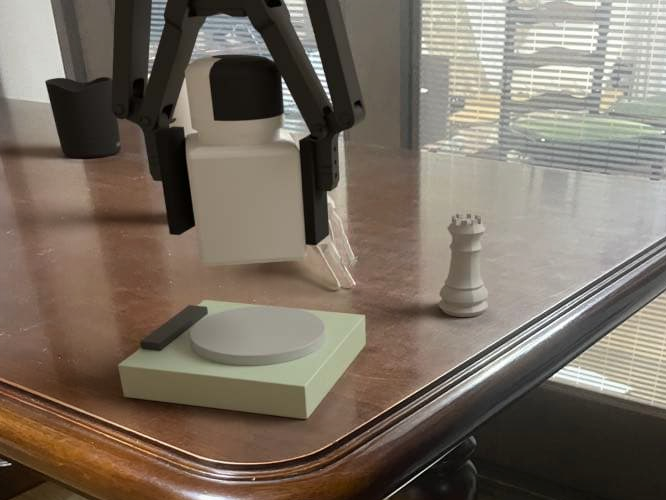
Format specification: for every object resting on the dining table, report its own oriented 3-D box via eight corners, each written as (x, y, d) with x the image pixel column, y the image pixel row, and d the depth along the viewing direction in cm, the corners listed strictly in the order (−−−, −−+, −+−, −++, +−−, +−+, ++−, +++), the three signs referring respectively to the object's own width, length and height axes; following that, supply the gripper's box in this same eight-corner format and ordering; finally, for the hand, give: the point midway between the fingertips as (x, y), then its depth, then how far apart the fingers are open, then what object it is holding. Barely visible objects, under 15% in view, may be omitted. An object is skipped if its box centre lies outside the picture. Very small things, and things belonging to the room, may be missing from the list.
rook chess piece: (496, 315, 77) (502, 221, 72) (449, 321, 75) (452, 225, 71) (476, 298, 80) (480, 208, 76) (430, 304, 79) (432, 212, 74)
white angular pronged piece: (348, 340, 88) (291, 228, 96) (361, 247, 79) (297, 132, 87) (331, 343, 87) (274, 230, 96) (342, 249, 78) (279, 133, 86)
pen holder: (89, 162, 129) (75, 86, 123) (47, 154, 133) (31, 81, 128) (137, 151, 136) (125, 78, 130) (95, 144, 140) (82, 74, 134)
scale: (123, 397, 63) (115, 354, 61) (207, 328, 74) (202, 289, 72) (307, 419, 60) (304, 375, 58) (366, 344, 71) (365, 305, 69)
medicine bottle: (295, 233, 65) (282, 49, 58) (307, 261, 59) (294, 61, 53) (198, 239, 64) (173, 51, 57) (201, 268, 58) (173, 64, 51)
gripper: (417, -179, 49) (415, 231, 62) (69, -168, 54) (133, 211, 66) (380, -195, 43) (386, 262, 56) (-8, -181, 48) (79, 238, 60)
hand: (249, 234), depth 61 cm, fingers closed on medicine bottle, 9 cm apart
